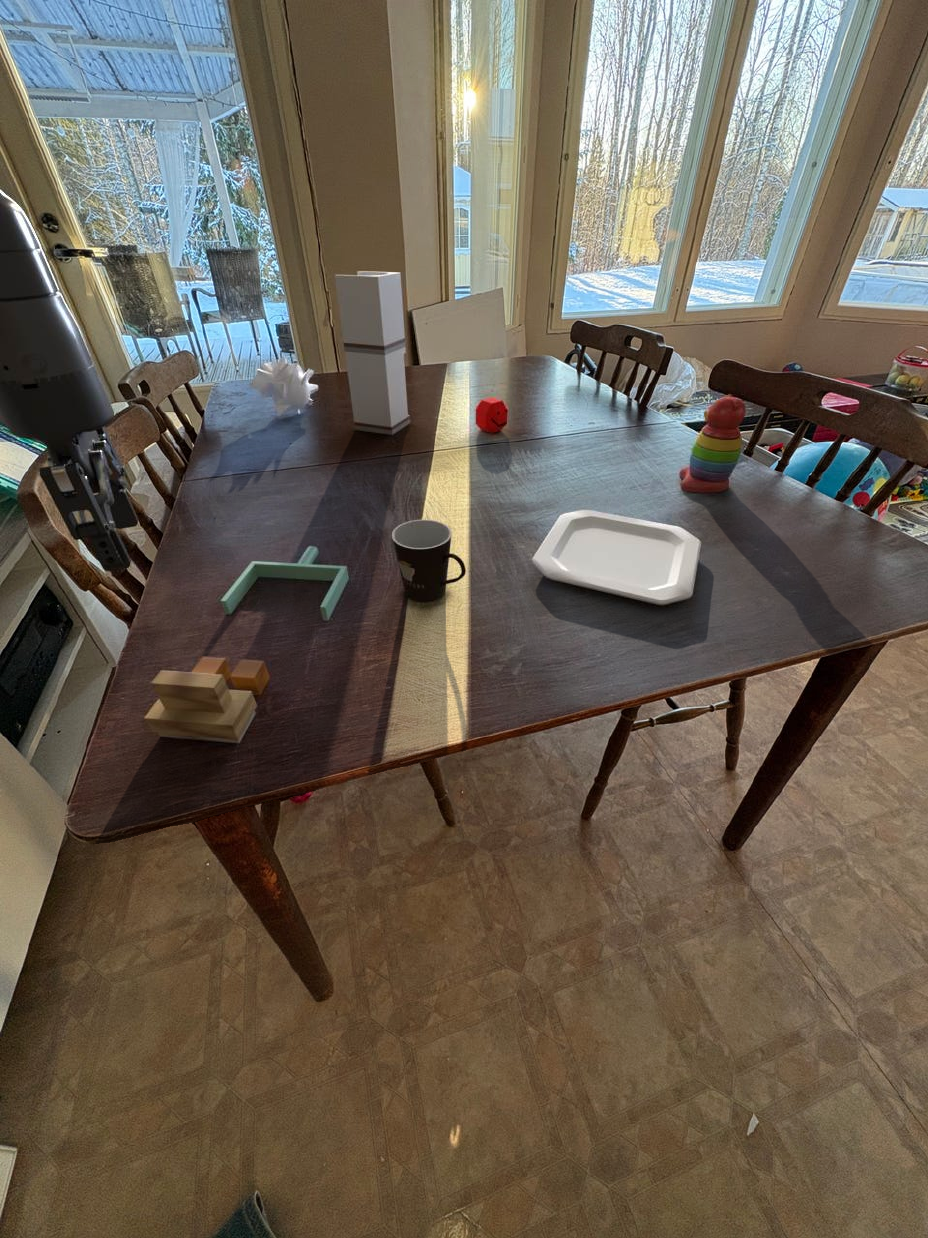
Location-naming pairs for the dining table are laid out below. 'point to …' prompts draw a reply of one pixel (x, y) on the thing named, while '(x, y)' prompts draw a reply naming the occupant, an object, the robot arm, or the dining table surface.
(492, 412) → the ball
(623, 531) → the plate
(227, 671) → the crumb
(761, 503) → the dining table surface
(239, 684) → the crumb
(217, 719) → the stepped wooden block
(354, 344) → the white banded pillar
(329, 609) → the green u-shaped pusher
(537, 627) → the dining table surface
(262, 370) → the white spiky ornament
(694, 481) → the stacking bear
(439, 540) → the coffee mug
